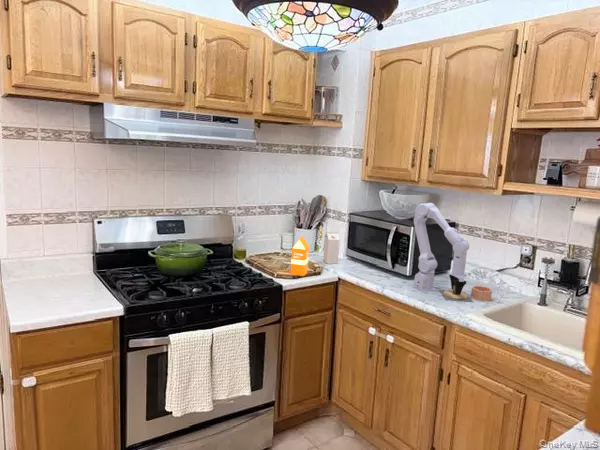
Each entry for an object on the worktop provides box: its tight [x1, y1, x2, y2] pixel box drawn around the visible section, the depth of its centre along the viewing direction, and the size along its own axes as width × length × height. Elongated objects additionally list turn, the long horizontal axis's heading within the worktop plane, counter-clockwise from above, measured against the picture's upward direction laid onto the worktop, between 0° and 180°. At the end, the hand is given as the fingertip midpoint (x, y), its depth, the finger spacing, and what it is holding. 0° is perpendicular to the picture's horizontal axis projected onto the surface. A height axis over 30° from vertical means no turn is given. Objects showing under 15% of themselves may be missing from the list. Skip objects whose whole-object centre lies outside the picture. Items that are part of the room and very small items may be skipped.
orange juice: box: [290, 236, 310, 277], centre depth 244 cm, size 8×9×20 cm
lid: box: [444, 285, 469, 300], centre depth 219 cm, size 11×11×5 cm
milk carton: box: [323, 231, 341, 265], centre depth 271 cm, size 7×7×19 cm
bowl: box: [470, 285, 493, 302], centre depth 218 cm, size 9×9×5 cm
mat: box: [438, 289, 474, 303], centre depth 219 cm, size 13×16×1 cm
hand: (455, 291), depth 219 cm, fingers open, 7 cm apart
